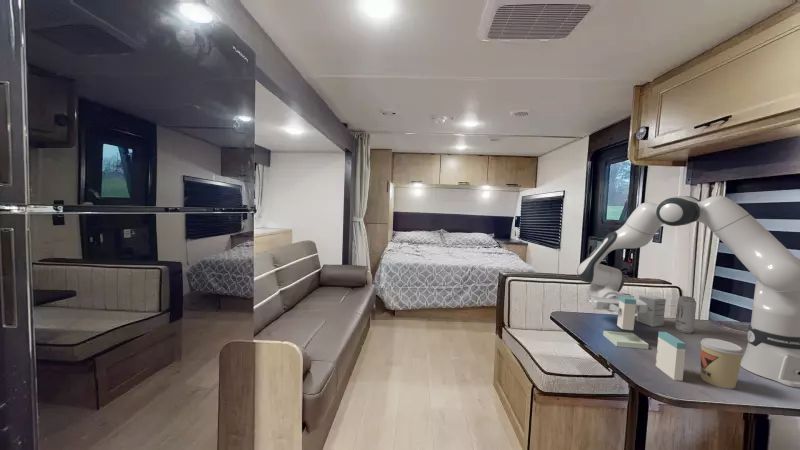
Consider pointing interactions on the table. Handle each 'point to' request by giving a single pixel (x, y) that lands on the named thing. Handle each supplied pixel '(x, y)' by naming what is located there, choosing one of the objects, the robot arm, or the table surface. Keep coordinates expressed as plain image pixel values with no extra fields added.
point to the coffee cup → (720, 362)
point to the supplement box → (652, 310)
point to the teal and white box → (670, 355)
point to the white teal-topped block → (626, 313)
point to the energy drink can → (686, 314)
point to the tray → (625, 339)
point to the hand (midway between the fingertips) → (627, 311)
